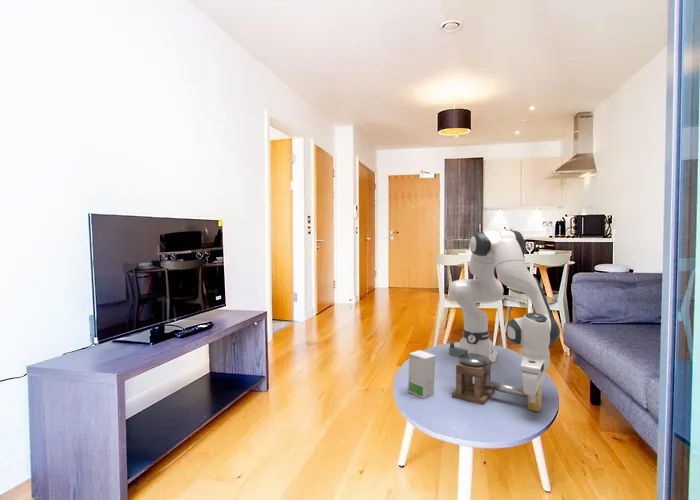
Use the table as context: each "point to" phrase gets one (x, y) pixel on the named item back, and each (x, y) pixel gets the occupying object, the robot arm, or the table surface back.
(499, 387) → the gold cube on rod
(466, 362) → the handwheel
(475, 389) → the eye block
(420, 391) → the skincare box
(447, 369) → the table surface
